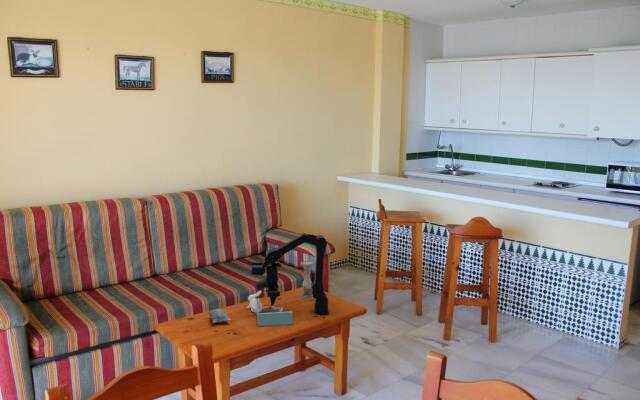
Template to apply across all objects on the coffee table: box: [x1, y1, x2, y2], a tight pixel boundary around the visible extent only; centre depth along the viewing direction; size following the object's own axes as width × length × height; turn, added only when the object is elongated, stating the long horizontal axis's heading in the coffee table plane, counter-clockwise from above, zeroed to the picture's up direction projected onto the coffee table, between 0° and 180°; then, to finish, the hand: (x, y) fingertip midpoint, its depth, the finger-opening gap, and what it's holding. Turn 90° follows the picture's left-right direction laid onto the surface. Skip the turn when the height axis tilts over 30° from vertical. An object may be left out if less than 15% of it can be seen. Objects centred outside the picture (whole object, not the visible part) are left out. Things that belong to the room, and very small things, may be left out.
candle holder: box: [299, 260, 316, 301], centre depth 302 cm, size 9×9×20 cm
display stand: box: [256, 310, 293, 327], centre depth 268 cm, size 16×10×6 cm, turn 100°
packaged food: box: [208, 308, 231, 324], centre depth 268 cm, size 9×12×5 cm
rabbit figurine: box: [246, 290, 263, 314], centre depth 284 cm, size 12×8×10 cm, turn 30°
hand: (272, 304), depth 279 cm, fingers closed
